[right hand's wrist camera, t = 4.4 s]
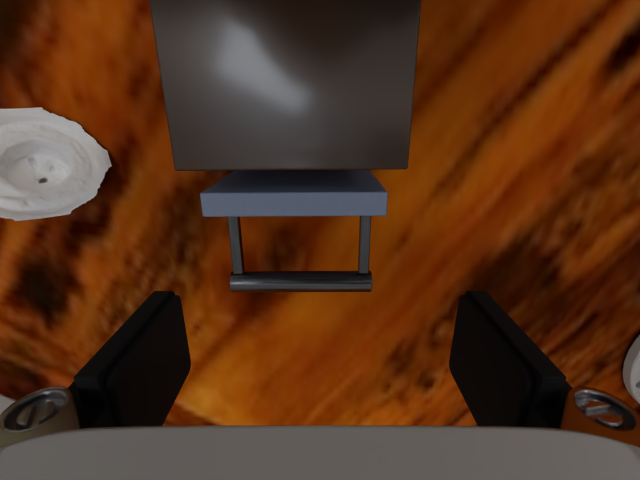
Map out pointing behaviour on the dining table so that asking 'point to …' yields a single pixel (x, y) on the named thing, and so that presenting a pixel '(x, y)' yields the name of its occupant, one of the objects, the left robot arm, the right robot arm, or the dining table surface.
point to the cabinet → (287, 82)
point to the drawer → (297, 200)
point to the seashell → (46, 164)
